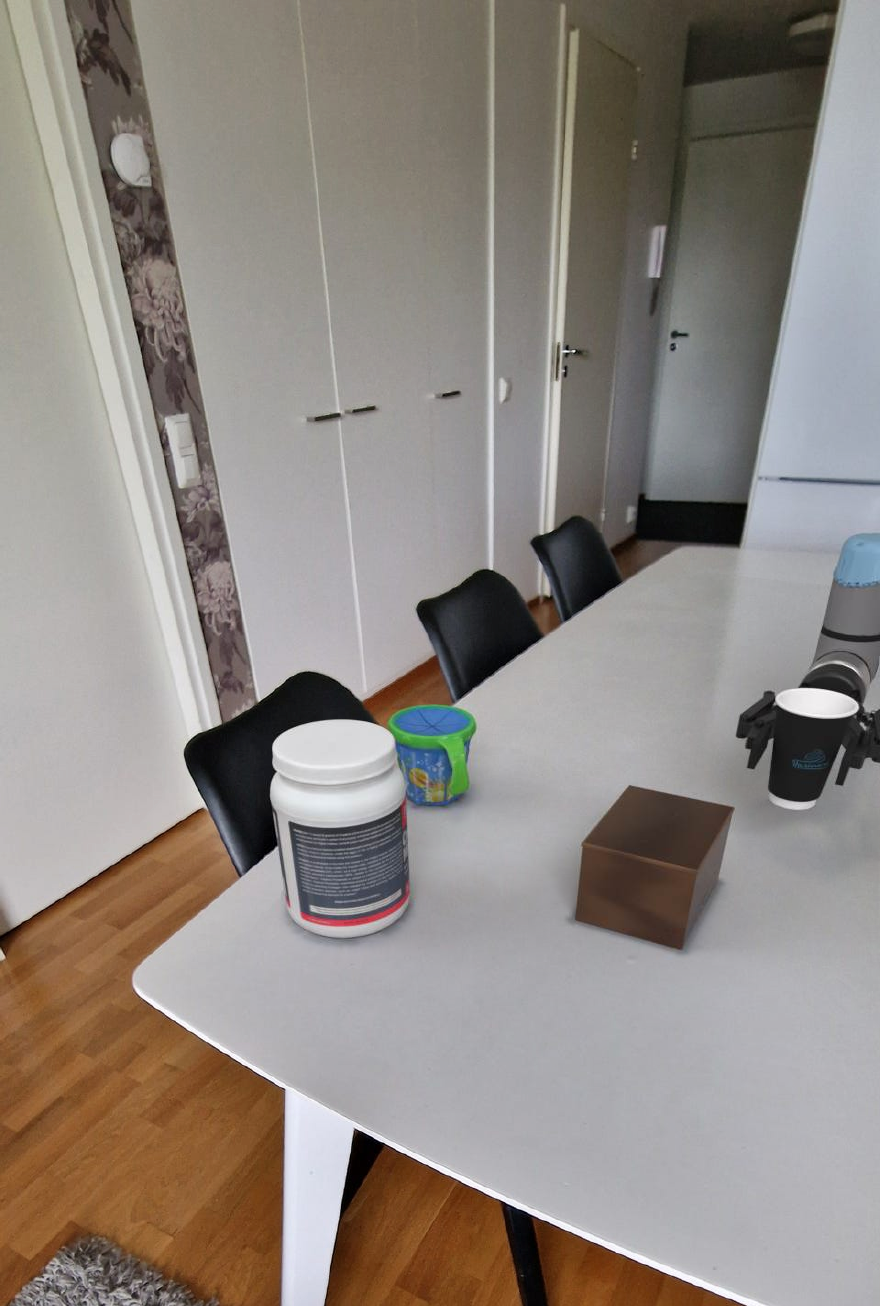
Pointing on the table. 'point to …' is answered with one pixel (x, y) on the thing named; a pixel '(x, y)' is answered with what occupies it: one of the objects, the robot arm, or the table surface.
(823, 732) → the dixie cup
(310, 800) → the supplement tub
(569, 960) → the table surface
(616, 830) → the brown box
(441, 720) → the snack cup
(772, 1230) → the table surface
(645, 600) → the table surface
